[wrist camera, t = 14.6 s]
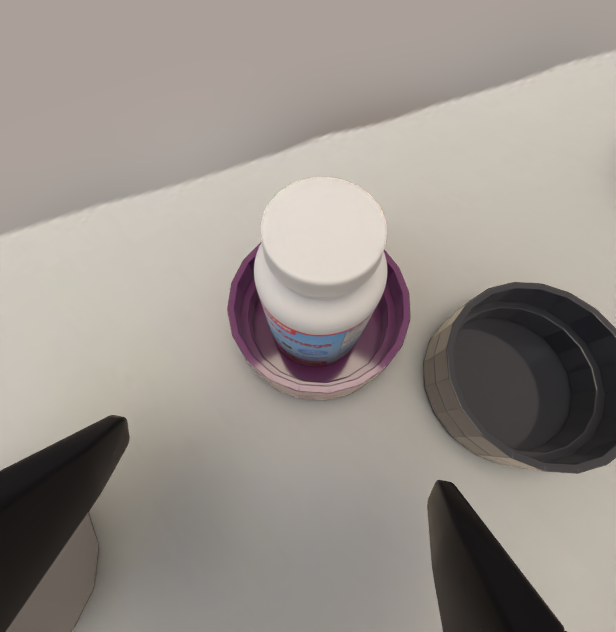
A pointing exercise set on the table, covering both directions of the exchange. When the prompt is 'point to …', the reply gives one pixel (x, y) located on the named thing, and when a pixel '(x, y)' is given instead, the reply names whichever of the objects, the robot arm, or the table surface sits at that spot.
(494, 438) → the charcoal bowl
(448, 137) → the table surface
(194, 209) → the table surface
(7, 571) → the robot arm
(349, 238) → the pill bottle
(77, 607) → the cup
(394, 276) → the plum bowl
